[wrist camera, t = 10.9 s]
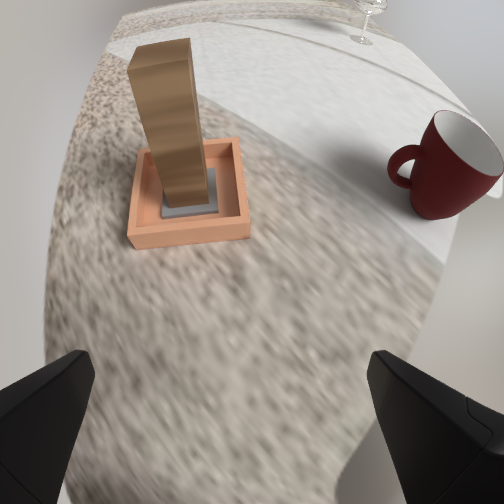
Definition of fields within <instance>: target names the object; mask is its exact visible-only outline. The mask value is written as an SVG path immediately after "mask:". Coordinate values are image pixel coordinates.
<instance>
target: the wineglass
mask: <svg viewBox="0 0 504 504" xmlns="http://www.w3.org/2000/svg"><path fill="white" fill-rule="evenodd" d="M386 1H387V0H354V2H355V4H356V5H357V7H358V8H359V9H360V10H361V11H363V12H364V14H365V20H364V26H363V31H362V36H358V35H351V36H350V38H351V39H352V40H354V41H356V42H359V43H362V44H366V45H372V44H373V42H372V41H370V40H369V39H367V38H365V37H363V36H364V32H365V29H366V26H367V22H368V19H369V16H371V15H376V14H380V13H382V12H384V11H385V10H386V8H387V2H386Z"/></svg>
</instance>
